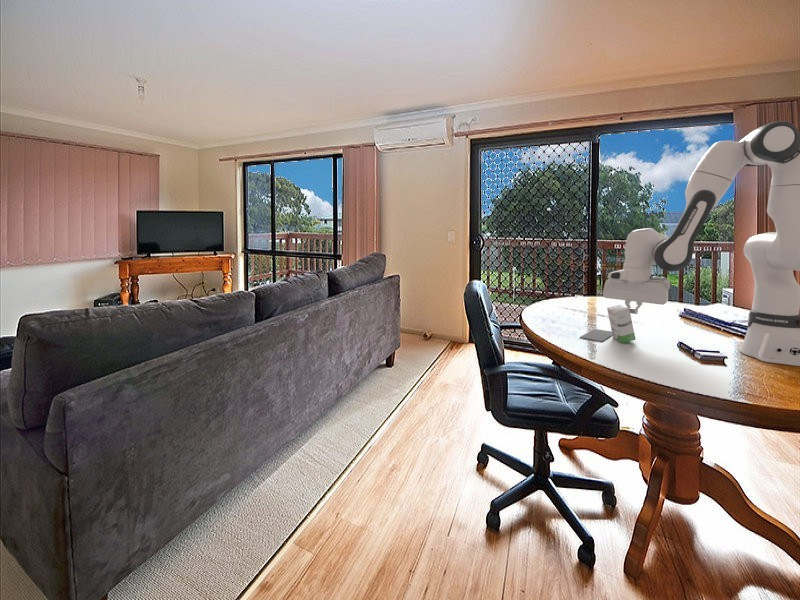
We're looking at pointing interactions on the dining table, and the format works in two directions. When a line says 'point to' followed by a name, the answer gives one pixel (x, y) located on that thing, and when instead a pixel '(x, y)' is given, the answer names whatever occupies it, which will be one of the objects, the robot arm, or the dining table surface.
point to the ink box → (621, 323)
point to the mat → (597, 335)
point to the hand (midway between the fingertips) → (632, 313)
